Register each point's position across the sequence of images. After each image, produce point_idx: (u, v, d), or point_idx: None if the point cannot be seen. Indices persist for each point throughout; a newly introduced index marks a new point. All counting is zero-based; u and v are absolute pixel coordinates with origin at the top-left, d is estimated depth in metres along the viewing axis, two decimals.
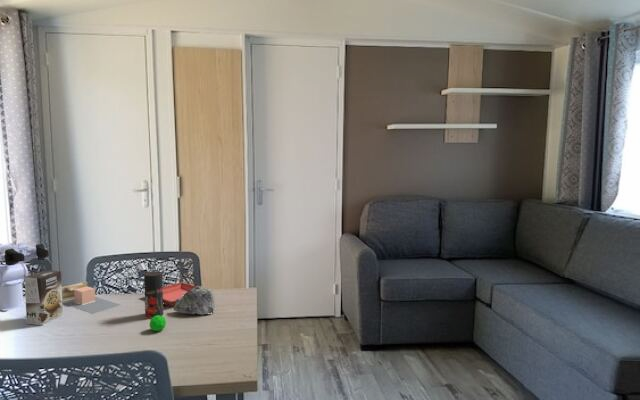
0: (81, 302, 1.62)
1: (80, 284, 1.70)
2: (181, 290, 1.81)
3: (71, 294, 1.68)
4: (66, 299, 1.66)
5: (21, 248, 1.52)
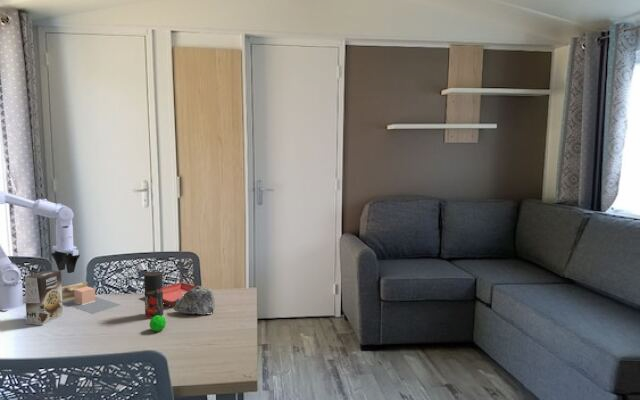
0: (81, 302, 1.62)
1: (80, 284, 1.70)
2: (181, 290, 1.81)
3: (71, 294, 1.68)
4: (66, 299, 1.66)
5: None
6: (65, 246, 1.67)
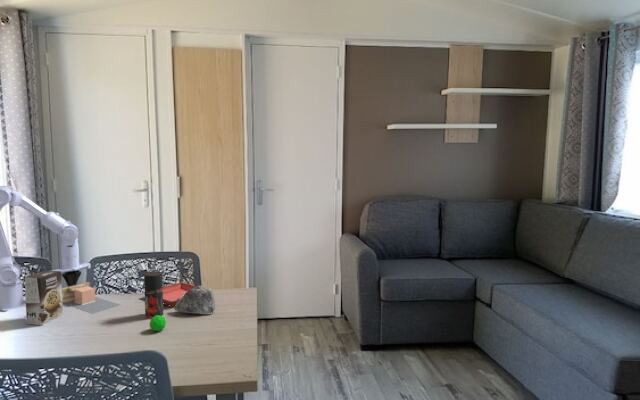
0: (81, 302, 1.62)
1: (82, 285, 1.69)
2: (181, 290, 1.81)
3: (73, 295, 1.68)
4: (68, 300, 1.65)
5: None
6: (62, 264, 1.67)
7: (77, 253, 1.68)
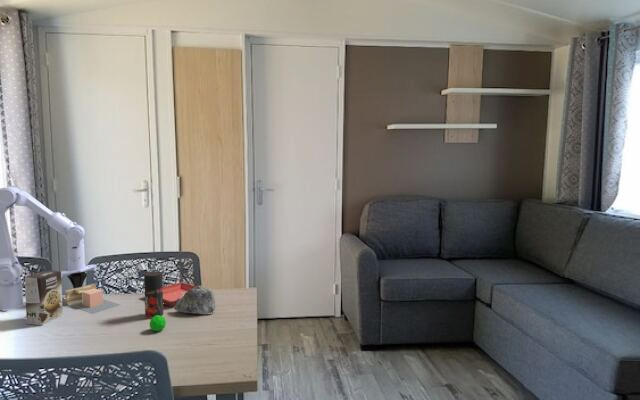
0: (83, 303, 1.62)
1: (88, 286, 1.67)
2: (181, 290, 1.81)
3: (79, 297, 1.66)
4: (74, 302, 1.63)
5: None
6: (68, 266, 1.65)
7: (82, 255, 1.66)
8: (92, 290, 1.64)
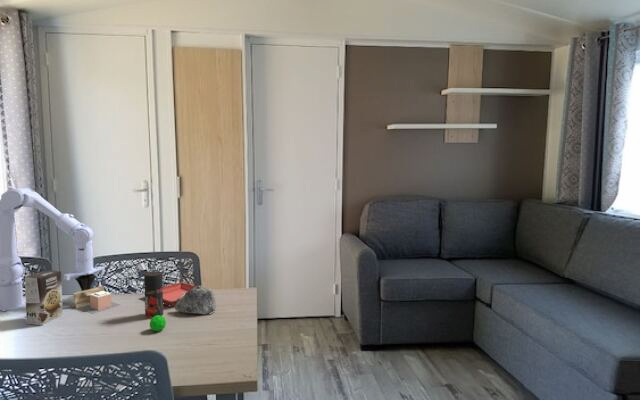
0: (90, 296, 1.59)
1: (97, 289, 1.64)
2: (181, 290, 1.81)
3: (87, 299, 1.63)
4: (83, 304, 1.60)
5: None
6: (76, 268, 1.62)
7: (89, 257, 1.63)
8: (106, 298, 1.59)
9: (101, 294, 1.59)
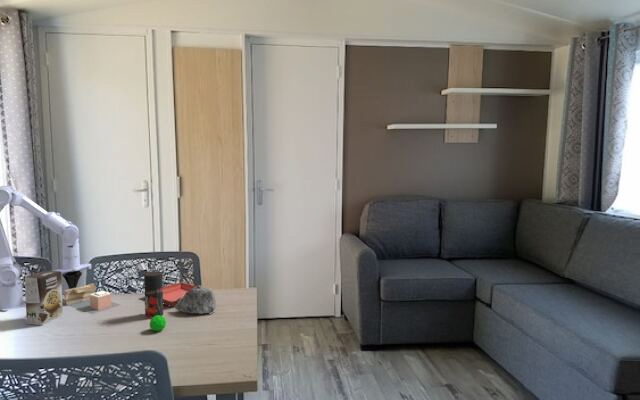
0: (90, 296, 1.59)
1: (87, 286, 1.68)
2: (181, 290, 1.81)
3: (78, 296, 1.66)
4: (73, 301, 1.64)
5: None
6: None
7: (78, 253, 1.68)
8: (106, 298, 1.59)
9: (101, 294, 1.59)
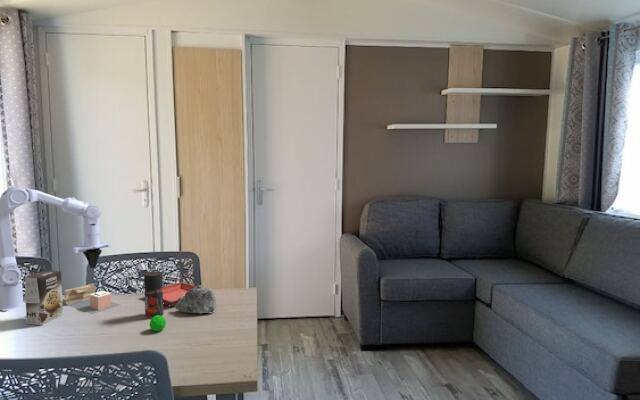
0: (90, 296, 1.59)
1: (87, 286, 1.68)
2: (181, 290, 1.81)
3: (78, 296, 1.66)
4: (73, 301, 1.64)
5: None
6: None
7: (98, 231, 1.76)
8: (106, 298, 1.59)
9: (101, 294, 1.59)
